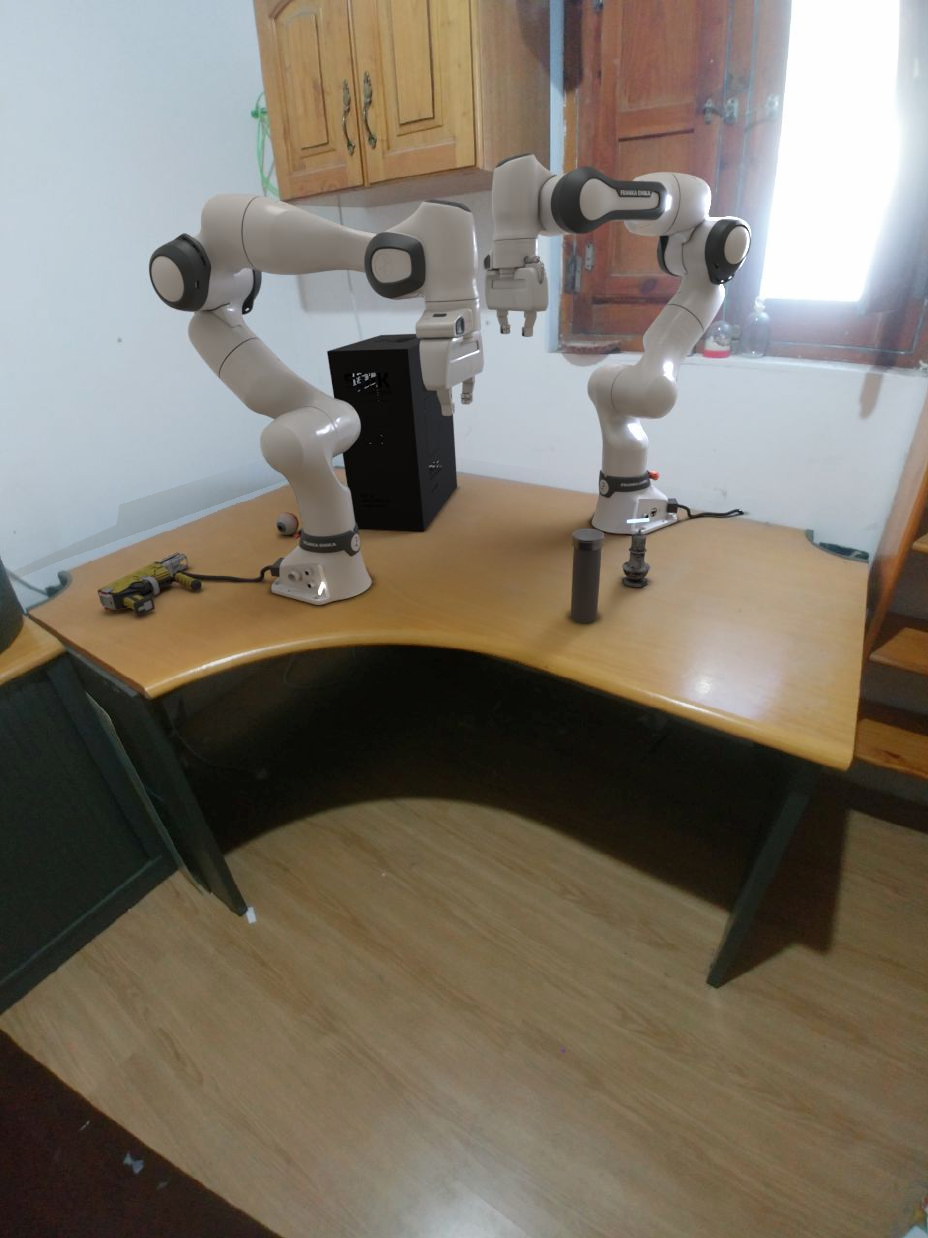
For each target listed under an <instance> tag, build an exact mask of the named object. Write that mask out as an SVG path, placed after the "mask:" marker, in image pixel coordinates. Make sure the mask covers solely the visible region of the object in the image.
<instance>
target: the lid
mask: <svg viewBox="0 0 928 1238" xmlns="http://www.w3.org/2000/svg"><path fill="white" fill-rule="evenodd" d="M571 541H572V542H571V546H572V548H573V547H574V548H576V549H578V550H582V551H595V550H599V549H601V548H602V549H603V547H604V545H605V544H604V543H605V533H604V531H602V530H599V529H597V528H580V529H576V530H574V531H573V532H572V536H571Z"/></svg>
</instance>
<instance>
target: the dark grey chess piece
mask: <svg viewBox="0 0 928 1238" xmlns="http://www.w3.org/2000/svg"><path fill="white" fill-rule="evenodd" d="M646 543H647V535H646V534H643V533H641V530H640V529H639V531H638V533H635V534H634V535H633V534H632V536H631V544H630V547H629V548H628V551H629V559H628V560H627V561H625V562H623V563H622V564H621V568H622V571H623V574H624V575H625V576H624V577H623V578H622V580H621V582H622V584H624V585H625V586H628V587H632V588H641V587H644V586H647V584H648V580H647V579H646V577H647V576H648V573H649V571H650V570H651V565H650V564H649V563H648V562H646V561H645V558H646V557H645V555H646V552H648V551H647V550H648V549H647V548H646Z"/></svg>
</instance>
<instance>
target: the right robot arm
mask: <svg viewBox="0 0 928 1238" xmlns="http://www.w3.org/2000/svg"><path fill="white" fill-rule="evenodd" d="M711 200H712V194H711V189H710V186H709V185H708V183H707V182H706V181H705V180H704V179H703V178H701V177H698V176H695V175H692V174H689V173H682V172H675V171H673V172H672V171H660V172H659V171H658V172H651V173H646V174H641V175H640V176H637V177H635V178H633V179H632V180H624V179H623V180H621V179H613V178H610V177H609V176H607V175H606V174H604V173H603V172H601V171H600V170H599V169H596V168H594V167H592V166H585V165H584V166H579V167H577V168H575V169H573V170H569V171H568V172H566V173H565V172H564V173H562V174H559V175H558V174H556V173H554V172H552V171H551V170H549V169H547V168H546V167H545V166H543V165H542V163H540V161H539V160H538V159H537V157H536V156H535V153H531V152H525V153H520V154H517V155H513V156H509V157H507V158H504V159H501V160H500V161H499V162H497V164H496V165H495V167H494V170H493V174H492V183H491V216H492V220H493V227H494V228H493V235H492V248H491V249H490V250H489V252H488V253H487V254H486V255H485V256H484V257H483V258H482V269H483V271H485V273H484V297H485V304H486V306H487V307H486V308H487V309H488V310H492V311H496V318H497V321H498V323H499V324H498V325H499V333H500V335H510V334H511V324H509V318H508V316H509V312H523V318H524V323H523V326H522V327H521V336H522V337H523V338H531V337H533V335H534V326H535V324H536V320H537V318H538V316H537V315H538V314H537V313H540V312H546V311H547V310H548V308H549V307H548V306H549V303H550V297H549V296H550V295H549V279H548V278H549V277H548V273H547V269H546V268H545V263H544V262H543V260H542V258H541V256H539V236H542V237H546V238H547V237H549V238H550V237H557V236H558V237H560V236H566V235H567V236H568V235H585V234H586V235H587V234H589V233H592V232H594V231H595V230H597V229H598V228H600V227H602V226H603V225H605V224H606V223H608V222H623V224H624V226H625V227H626V230H628V232H629V233H631V234H634V235H639V236H645V237H658V242H657V248H656V259H657V264H658V267H659V269H660V270H661V271H662V272H663V273H664V274H666V275H669V276H672V277H682V279H681V283H680V285H679V287H678V289H677V291H676V292H675V294H674V295H673V296H672V297H671V298H670V300H669V301H668V302H667V303H666V305H665V306H664V307H663V308H662V310H661V311H660V313H659V314H658V315H657V316H656V318H655V319H654V320H653V322H652V323H651V324H650V326H649V327H647V330H646V331H645V332H644V335H643V337H642V345H643V350H644V351H643V353H642V356H641V358H640V359H639V360H638V361H637V363H635V364H625V363H619V362H615V363H614V362H613V363H607V364H604V365H601V366H597V368H595V369H594V371H593V372H591V374H590V376H589V378H588V380H587V395H588V398H589V399H590V401H591V402H592V404H593V406H594V408H595V411H596V414H597V417H598V418H597V419H598V421H599V427H600V432H601V440H602V447H601V448H602V449H601V450H602V451H601V468H600V470H599V474H598V492H599V493H598V498H597V502H596V507H595V511H594V514H593V517H592V520H591V525H592V526H593V527H594V529H596V530H599V531H602V532H605V533H611V534H623V535H625V534H626V535H632V536H633V535H634V534H635V533H638V531H639V529H640V530H641V533H643V534H644V535H646V534H650V533H652V532H654V531H657V530H660V529H662V528H665V527H668V526H670V525H672V524H675V523H677V522H678V516H677V515H676V514H678V510H679V509H682V510H685V511H686V515H687V517H688V518H690V519H697V518H700V517H704V516H706V517H707V516H709V517H727V516H730V515H732V514H735V513H738V514H739V515H744V514H745V513H744V511H743V510H741V511H739V510H740V509H739V508H734V509H731V510H729V511H727V512H711V511H710V512H709V511H708V512H707V511H705V512H699V513H697V514H692V513H691V508H689V506H686V505H683V504H680V503H679V502H678V500H677V499H676V498H675V497H674V498H668V497H667V496H666V495H665V494H664V493H663V492H661V491H660V490H659V489H658V488H656V487H655V486H654V485H652V483H651V480H653V481H658V479H659V478H660V473H659V472H657V471H654V470H651V471H649V470H648V469H647V466H648V458H649V457H648V455H649V446H650V441H649V437H648V435H647V434H646V432H645V431H644V429H643V427H642V424H641V420H656V419H662V418H664V417H666V416H667V415H669V413H670V412H671V411H672V410H673V408H674V406H675V405H676V402H677V399H678V395H679V389H678V388H679V387H678V383H677V377H678V373H679V371H680V368H681V366H682V365H683V363H684V361H685V359H686V358H687V357H688V355H689V354H690V353H691V352H692V350H693V348H694V347H695V346H696V345H697V343H698V342H699V340H701V338H702V337H703V336H704V335H705V333H706V331H707V330H708V328H709V327H710V325H711V324H712V322H713V321H714V319H715V318H716V316H717V315H718V313H719V311H720V309H721V307H722V305H723V303H724V300H725V288H724V285H725V284H727V283H729V282H730V281H732V280H733V279H734V278H735V275H736V274H737V271H738V270H739V269H740V268H741V267H742V265H743V263H744V262H745V260H746V258H747V256H748V254H749V252H750V249H751V243H752V231H751V228H750V225H749V224H748V223H747V222H746V221H745V220H743V219H741V218H738V217H736V216H724V217H710V215H709V210H710V207H711ZM678 508H679V509H678Z"/></svg>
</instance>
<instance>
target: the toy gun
mask: <svg viewBox="0 0 928 1238" xmlns="http://www.w3.org/2000/svg"><path fill="white" fill-rule="evenodd" d="M185 560H186V564H183V563H181V562H182V561H185ZM188 568H189V562H188V556H187V554H186V553H183V552H182V553H180V552H178V551H176V552H175V553H173V554H171V555H168V556H166V557H164V558H162V559H161V560H157V561H154V562H152V563H150V564H148V565H146V566H144V567H142V568H139V569H136V570H135V571H133V572H131V573H129V574H126V575H125V576H123V577H121V578H119V579H116V580H114V581H112V582H110V583H108V584H106V585H104V586H102V587H100V588H98V590H97V594H98V597H99V603H100V604H101V607H102V608H104V610H106V611H107V610H108V611H109V612H110V611H111V612H112V611H113V610H115V611H119V610H126V609H129V608H130V609H132V610H134V612H135V616H136V617H141V616H143V615H145V614H148V613H150V612H152V611H154V610H156V608H155V604H154V599H153V597H155V596H156V595H159V594H160V590H161V589H163V588H166V587H169V586H171V585H173V583H177V584H179V585H181V586H184V587H187V588H188V589H192V591H195V592H196V591H199V590H200V589H201V588H203V587H202V581H201V579H196V578H191V577H189V576H186V575H183V574H181V573H177V571H178V570H181V571H183V570H185V569H188Z"/></svg>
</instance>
